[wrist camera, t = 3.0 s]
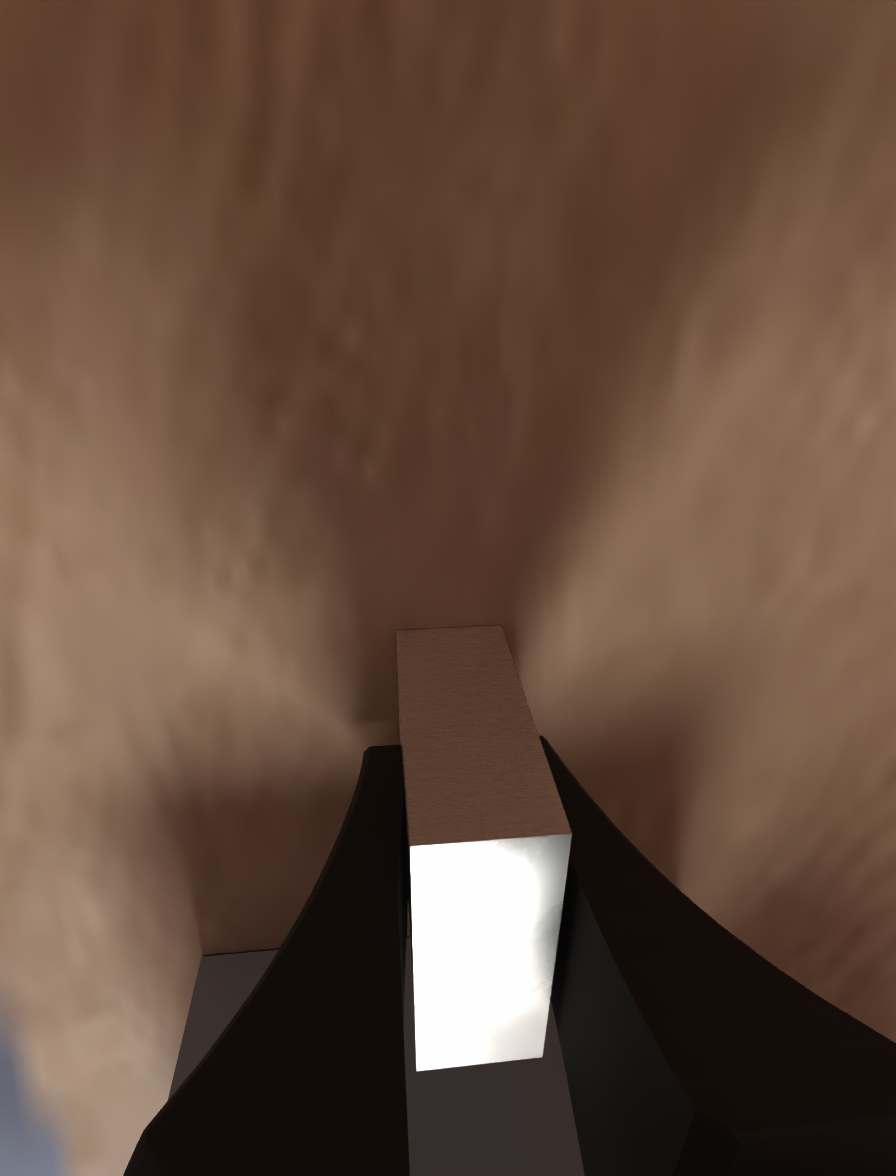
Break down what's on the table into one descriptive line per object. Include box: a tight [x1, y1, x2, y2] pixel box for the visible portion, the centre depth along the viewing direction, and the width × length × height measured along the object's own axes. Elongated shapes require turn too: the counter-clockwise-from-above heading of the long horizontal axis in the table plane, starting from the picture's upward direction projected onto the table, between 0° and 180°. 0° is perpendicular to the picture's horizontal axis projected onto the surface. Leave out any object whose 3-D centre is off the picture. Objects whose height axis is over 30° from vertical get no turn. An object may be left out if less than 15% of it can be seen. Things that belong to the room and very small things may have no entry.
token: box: [396, 625, 572, 1071], centre depth 11 cm, size 2×5×5 cm, turn 0°
